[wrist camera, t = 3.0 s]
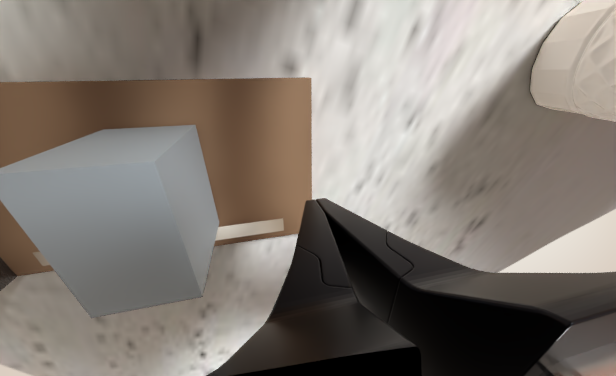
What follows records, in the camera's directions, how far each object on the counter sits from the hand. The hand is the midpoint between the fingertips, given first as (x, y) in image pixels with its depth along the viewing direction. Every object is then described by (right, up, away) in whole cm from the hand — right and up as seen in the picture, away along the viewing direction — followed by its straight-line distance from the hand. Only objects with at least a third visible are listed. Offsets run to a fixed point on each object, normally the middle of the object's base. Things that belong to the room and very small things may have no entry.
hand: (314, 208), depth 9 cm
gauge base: (-10, +1, +3) cm, 11 cm away
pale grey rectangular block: (-8, 0, +3) cm, 8 cm away
